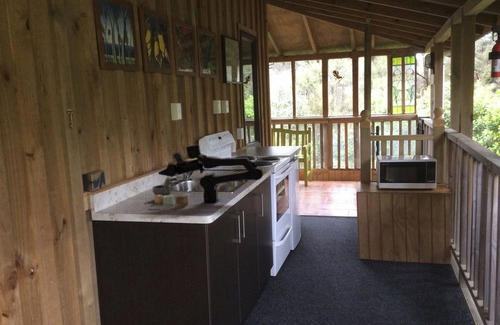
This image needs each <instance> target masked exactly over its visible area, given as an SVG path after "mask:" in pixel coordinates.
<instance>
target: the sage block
mask: <svg viewBox="0 0 500 325" xmlns="http://www.w3.org/2000/svg"><path fill="white" fill-rule="evenodd" d="M174 204H175V197H174V194H169V195H168V196H163V204H162V205H170V206H173V205H174Z"/></svg>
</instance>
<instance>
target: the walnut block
mask: <svg viewBox="0 0 500 325" xmlns="http://www.w3.org/2000/svg"><path fill="white" fill-rule="evenodd" d="M188 196H189V195H187V194H184V195H181V194H178V195H177V196H176V197H175V207H176V208H185V207H188V206H189V198H188Z"/></svg>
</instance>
